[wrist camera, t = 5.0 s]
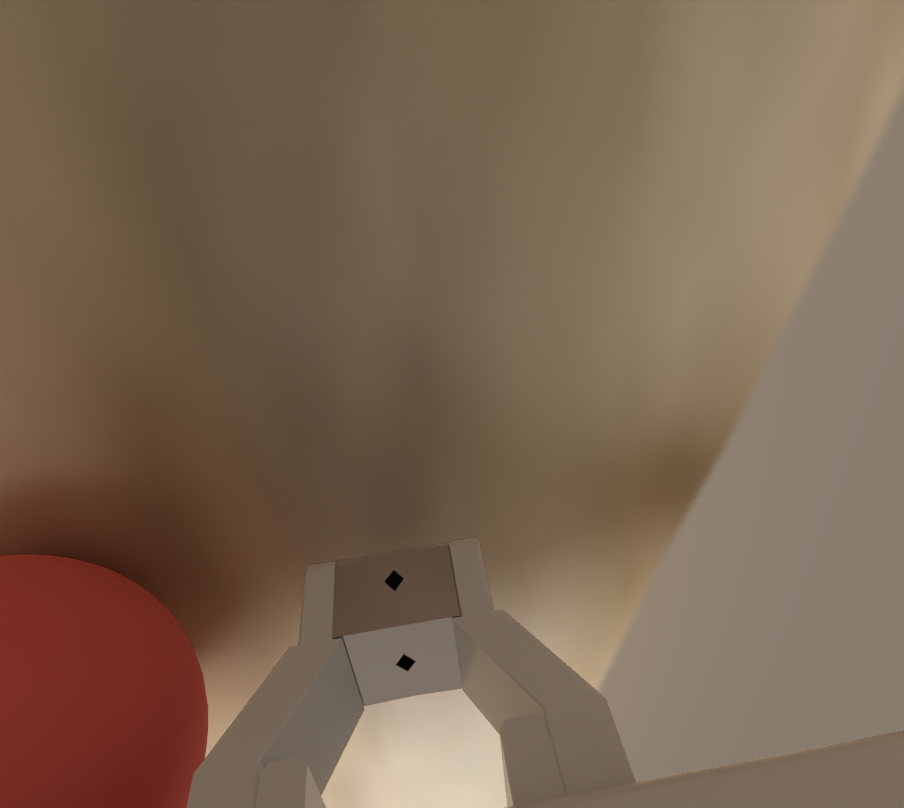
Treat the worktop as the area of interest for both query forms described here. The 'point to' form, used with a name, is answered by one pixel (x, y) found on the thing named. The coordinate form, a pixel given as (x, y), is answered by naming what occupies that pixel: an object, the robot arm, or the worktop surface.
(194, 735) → the ball
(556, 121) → the worktop surface
